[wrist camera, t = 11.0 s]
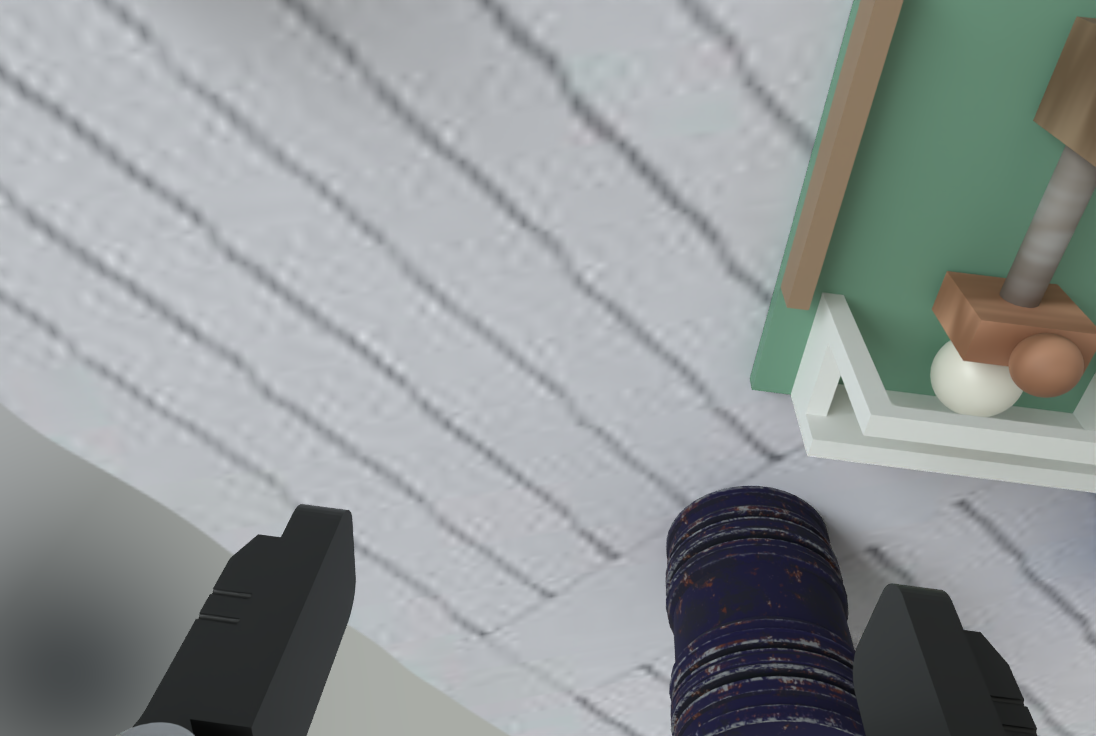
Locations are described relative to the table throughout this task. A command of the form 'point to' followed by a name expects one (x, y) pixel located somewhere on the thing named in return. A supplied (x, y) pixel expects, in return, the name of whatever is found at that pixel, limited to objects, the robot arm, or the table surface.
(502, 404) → the table surface
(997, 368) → the ball
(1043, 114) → the kicker
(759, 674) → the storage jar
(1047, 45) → the pitch
